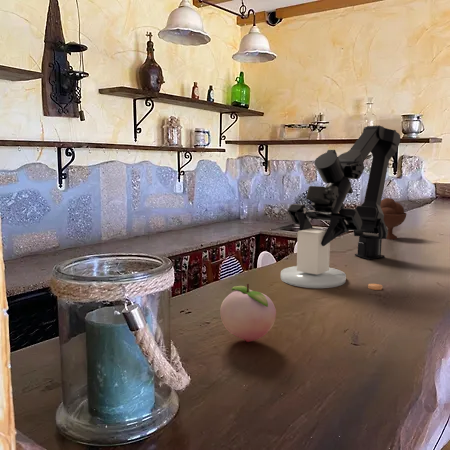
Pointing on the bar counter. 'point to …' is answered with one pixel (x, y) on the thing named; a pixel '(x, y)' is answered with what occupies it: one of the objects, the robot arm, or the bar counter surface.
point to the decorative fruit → (247, 313)
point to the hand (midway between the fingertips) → (310, 243)
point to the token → (375, 286)
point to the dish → (313, 278)
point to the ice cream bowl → (392, 215)
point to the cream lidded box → (312, 251)
